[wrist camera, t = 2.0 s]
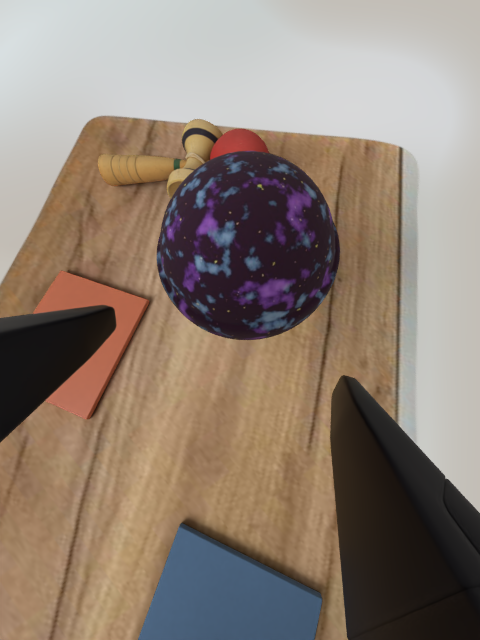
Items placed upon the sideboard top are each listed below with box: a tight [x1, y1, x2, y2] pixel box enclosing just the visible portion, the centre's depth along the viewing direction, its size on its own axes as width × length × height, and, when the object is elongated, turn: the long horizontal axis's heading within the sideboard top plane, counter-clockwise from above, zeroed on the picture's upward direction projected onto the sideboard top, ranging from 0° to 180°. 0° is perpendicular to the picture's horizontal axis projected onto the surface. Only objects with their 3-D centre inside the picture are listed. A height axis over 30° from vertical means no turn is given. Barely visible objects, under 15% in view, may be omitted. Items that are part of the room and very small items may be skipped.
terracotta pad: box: [33, 271, 149, 419], centre depth 21 cm, size 11×10×1 cm
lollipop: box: [157, 151, 340, 340], centre depth 13 cm, size 7×7×15 cm
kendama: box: [98, 119, 269, 198], centre depth 23 cm, size 8×6×18 cm
